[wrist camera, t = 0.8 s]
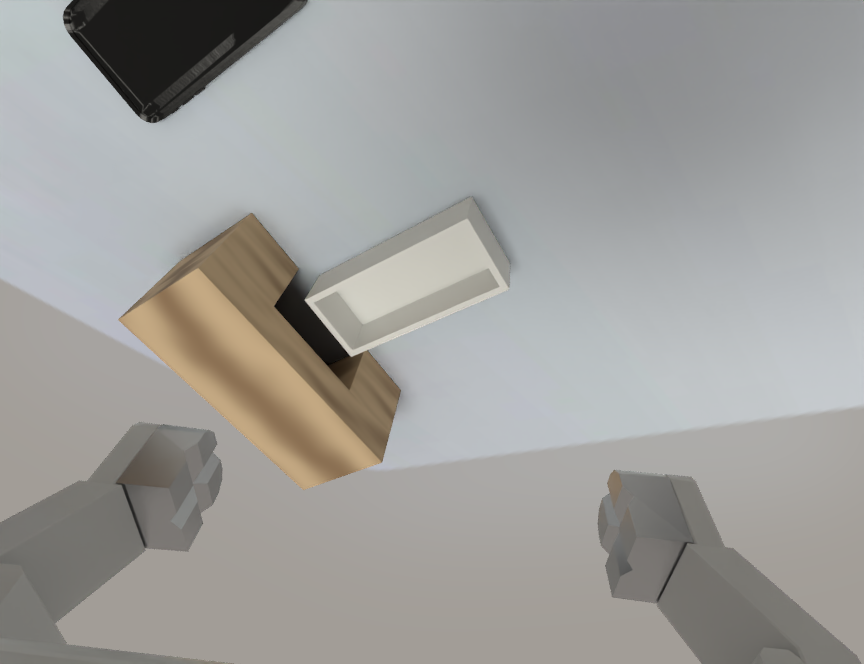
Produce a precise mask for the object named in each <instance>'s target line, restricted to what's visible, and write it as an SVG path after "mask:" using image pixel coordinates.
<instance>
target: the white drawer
mask: <svg viewBox="0 0 864 664" xmlns="http://www.w3.org/2000/svg"><path fill="white" fill-rule="evenodd" d="M509 285H510V262H509V261H508V259H507V257H506V255H505V254H504V252H503V250H502V248H501V247H500V245H499V243H498V241H497V240H496V238H495V236H494V234H493V233H492V231H491V229H490V227H489V226H488V224H487V222H486V220H485V219H484V217H483V215H482V213H481V212H480V210H479V208H478V206H477V205H476V203H475V201H474V199H473V198H472V196H471V197H469V198H467V199H466V200H464V201H462V202H460V203H458V204H456V205H454V206H452V207H450V208H448V209H446V210H444V211H442V212H440V213H439V214H437V215H435V216H433V217H431V218H429V219H427V220H425V221H423V222H421V223H419V224H417V225H415V226H414V227H412V228H410V229H408V230H406V231H404V232H402V233H400V234H398V235H396V236H394V237H392V238H390V239H389V240H387V241H385V242H383V243H381V244H379V245H377V246H375V247H373V248H371V249H369V250H367V251H365V252H364V253H362V254H360V255H358V256H356V257H354V258H352V259H350V260H348V261H346V262H344V263H342V264H340V265H339V266H337V267H335V268H333V269H331V270H329V271H327V272H325V273H323V274H321V275H319V277H318V279H317V280H316V282H315V284H314V285H313V287H312V289H311V290H310V292H309V294H308V295H307V297H306V299H305V301H306V303H307V304H308V305H309V306H310V307H311V309H312V310H313V311H314V312H315V314H316V315H317V316H318V317H319V318H320V320H321V321H322V322H323V323H324V325H325V326H326V327H327V328H328V329H329V331H330V332H331V333H332V334H333V335H334V337H335V338H336V339H337V340H338V342H339V343H340V344H341V345H342V346H343V348H344V349H345V350H346V351H347V353H348V354H349V355H350V356H351V357H352V356H355V355H357V354H359V353H362V352H364V351H366V350H369V349H371V348H373V347H376V346H378V345H380V344H383V343H385V342H387V341H390V340H392V339H394V338H397V337H399V336H401V335H404V334H406V333H409V332H411V331H413V330H416V329H418V328H420V327H423V326H425V325H427V324H430V323H432V322H434V321H437V320H439V319H441V318H444V317H446V316H448V315H451V314H453V313H455V312H458V311H460V310H462V309H465V308H467V307H469V306H472V305H474V304H476V303H479V302H481V301H483V300H486V299H488V298H490V297H493V296H495V295H497V294H500V293H502V292H505V291H507V290H509Z"/></svg>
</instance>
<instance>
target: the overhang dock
mask: <svg viewBox="0 0 864 664" xmlns="http://www.w3.org/2000/svg"><path fill="white" fill-rule="evenodd" d="M297 271H298V268H297V266H296V265H295V264H294V263H293V262H292V260H291V259H290V258H289V257H288V256H287V254H286V253H285V252H284V251H283V250H282V249H281V247H280V246H279V245H278V244H277V243H276V241H275V240H274V239H273V238H272V237H271V235H270V234H269V233H268V232H267V231H266V229H265V228H264V227H263V226H262V225H261V224H260V222H259V221H258V220H257V219H256V218H255V216H254V215H253V214H252V213H251V214H250V215H248V216H247V217H245V218H244V219H242V220H241V221H239V222H238V223H236V224H235V225H233V226H232V227H230V228H229V229H227V230H226V231H224V232H223V233H221V234H220V235H218V236H217V237H215V238H214V239H212V240H211V241H209V242H208V243H206V244H205V245H203V246H202V247H200V248H199V249H197V250H196V251H194V252H193V253H191V254H190V255H188V256H187V257H185V258H184V259H182V260H181V261H180V262H179V263H177V264H176V265H175V266H174V267H173V268H172V269H171V270H170V271H169V272H168V273H167V274H166V275H165V276H164V277H163V278H162V279H161V280H160V281H158V282H157V283H156V284H155V285H154V286H153V287H152V288H151V289H150V290H149V291H148V292H147V293H146V294H145V295H144V296H143V297H142V298H140V299H139V300H138V301H137V302H136V303H135V304H134V305H133V306H132V307H131V308H130V309H129V310H128V311H127V312H126V313H125V314H124V315H123V316H121V317H120V318H119V319H118V320H119V321H120V322H121V323H122V324H123V325H124V326H125V327H126V328H128V329H129V330H130V331H131V332H132V333H133V334H134V335H135V336H136V337H137V338H138V339H140V340H141V341H142V342H143V343H144V344H145V345H146V346H147V347H148V348H149V349H150V350H152V351H153V352H154V353H155V354H156V355H157V356H158V357H159V358H160V359H161V360H162V361H163V362H165V363H166V364H167V365H168V366H169V367H170V368H171V369H172V370H173V371H174V372H175V373H177V374H178V375H179V376H180V377H181V378H182V379H183V380H184V381H185V382H186V383H187V384H189V385H190V386H191V387H192V388H193V389H194V390H195V391H196V392H197V393H198V394H199V395H200V396H202V397H203V398H204V399H205V400H206V401H207V402H208V403H209V404H210V405H212V407H214V408H215V409H216V410H217V411H218V412H219V413H220V414H221V415H222V416H223V417H225V418H226V419H227V420H228V421H229V422H230V423H231V424H232V425H233V426H234V427H235V428H236V429H238V430H239V431H240V432H241V433H242V434H243V435H244V436H245V437H246V438H247V439H248V440H249V441H251V442H252V443H253V444H254V445H255V446H256V447H257V448H258V449H259V450H260V451H261V452H263V453H264V454H265V455H266V456H267V457H268V458H269V459H270V460H271V461H272V462H273V463H275V464H276V465H277V466H278V467H279V468H280V469H281V470H282V471H283V472H284V473H286V475H288V476H289V477H290V478H291V479H292V480H293V481H294V482H295V483H296V484H297V485H299V486H300V487H301V488H302V489H303V490H305V489H308V488H310V487H313V486H316V485H319V484H322V483H325V482H328V481H330V480H333V479H336V478H339V477H342V476H345V475H348V474H350V473H353V472H356V471H359V470H362V469H365V468H368V467H371V466H373V465H376V464H379V463H382V461H383V457H384V453H385V449H386V446H387V442H388V438H389V434H390V430H391V426H392V423H393V419H394V415H395V411H396V407H397V404H398V400H399V396H400V392H401V390H400V389H399V388H398V387H397V385H396V384H395V383H394V382H393V381H392V379H391V378H390V377H389V376H388V375H387V373H386V372H385V371H384V370H383V369H382V368H381V366H380V365H379V364H378V363H377V362H376V360H375V359H374V358H373V357H372V356H371V354H370V353H369V352H368V351H367V350H366V351H364V352H362V353H359V354H357V355H355V356H352V357H351V356H348V357H346V358H344V359H341V360H339V361H337V362H335V363H333V364H331V365H329V366H327V365H326V364H325V363H324V362H323V361H322V359H321V358H320V357H319V356H318V355H317V354H316V353H315V352H314V351H313V349H312V348H311V347H310V346H309V345H308V344H307V343H306V342H305V341H304V339H303V338H302V337H301V336H300V335H299V334H298V333H297V332H296V331H295V329H294V328H293V327H292V326H291V325H290V324H289V323H288V322H287V321H286V319H285V318H284V317H283V316H282V315H281V314H280V313H279V312H278V311H277V310H276V308H275V307H274V305H275V304H276V302H277V301H278V299H279V298H280V296H281V295H282V293H283V292H284V290H285V289H286V287H287V286H288V284H289V283H290V281H291V280H292V278H293V277H294V275H295V274H296V272H297Z"/></svg>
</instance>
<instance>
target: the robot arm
mask: <svg viewBox="0 0 864 664" xmlns="http://www.w3.org/2000/svg"><path fill="white" fill-rule="evenodd" d="M216 445H217V441H216V438H215V434H214V432H212V431H210V430H204V429H196V428H187V427H180V426H172V425H164V424H163V425H160V424H152V423H143V422H139V423H137V424H135V425H133V426H132V427H131V428H130V429H129V430H128V431H127V433H126V434H125V435H124V436H123V437H122V439H121V440H120V441H119V443H118V444H117V445H116V446H115V447H114V449H113V450H112V451H111V452H110V453H109V455H108V456H107V457H106V458H105V460H104V461H103V462H102V463H101V464H100V466H99V467H98V468H97V470H96V471H95V472H94V473H93V474H92V476H91V477H90V478H89V479H88V480H87V481H78V482H76V483H74V484H72V485H70V486H68V487H66V488H64V489H63V490H61V491H59V492H57V493H55V494H53V495H51V496H49V497H47V498H46V499H44V500H42V501H40V502H38V503H36V504H34V505H33V506H30V507H29V508H27V509H25V510H23V511H21V512H19V513H17V514H15V515H13V516H11V517H10V518H8V519H6V520H4V521H2V522H0V664H232V663H224V662H215V661H205V660H198V659H189V658H180V657H172V656H163V655H154V654H145V653H136V652H127V651H119V650H110V649H102V648H101V649H100V648H93V647H85V646H76V645H67V644H66V641H65V640H64V638H63V636H62V634H61V633H60V631H59V629H58V627H57V626H56V624H55V623H56V622H57V621H59V620H60V619H61V618H62V617H64V616H65V615H66V614H67V613H69V612H70V611H71V610H72V609H74V608H75V607H76V606H77V605H78V604H80V603H81V602H82V601H83V600H85V599H86V598H87V597H88V596H90V595H91V594H92V593H93V592H94V591H96V590H97V589H98V588H100V587H101V586H102V585H103V584H105V583H106V582H107V581H108V580H110V579H111V578H112V577H113V576H115V575H116V574H117V573H118V572H120V571H121V570H122V569H123V568H124V567H126V566H127V565H128V564H129V563H131V562H132V561H133V560H134V559H136V558H137V557H138V556H139V555H141V554H142V553H143V552H144V551H145V548H149V549H162V550H175V551H188V550H189V549H190V547H191V545H192V543H193V541H194V539H195V537H196V535H197V534H198V532H199V530H200V528H201V526H202V524H203V521H202V517H201V512H203V511H204V510H206V509H207V508H209V507H210V506H212V505H213V503H214V501H215V499H216V497H217V495H218V493H219V489H220V485H221V482H222V464H221V460H220V459H219V458H218V457H217V456H216V455H215V454H214V453H213V450H214V449H215V447H216ZM607 484H608V488H609V492H610V493H609V494H608V495H606V496H605V497H603V498H602V501H601V504H600V508H599V515H598V531H599V538H600V543H601V546H602V547H603V548H604V549H605V550H606V551H607V552H608V553H609V557H608V560H607V562H606V565H605V567H606V571H607V575H608V580H609V585H610V589H611V593H612V597H614V598H622V599H629V600H636V601H645V602H651V603H658V604H657V607H658V608H659V609H660V610H661V612H662V613H663V614H664V615H665V617H666V618H667V619H668V621H669V622H670V623H671V625H672V626H673V627H674V628H675V630H676V631H677V632H678V634H679V635H680V636H681V637H682V639H683V640H684V641H685V643H686V644H687V645H688V646H689V648H690V649H691V650H692V652H693V653H694V654H695V655H696V657H697V658H698V659H699V661H700V662H701V663H702V664H861V662H860V660H859V659H858V657H857V655H855V654H854V653H853V652H852V651H851V650H850V649H848V648H847V647H846V646H845V645H844V644H843V643H842V642H840V641H839V640H838V639H837V638H836V637H835V636H834V635H832V634H831V633H830V632H829V631H828V630H826V628H824V627H823V626H822V625H821V624H820V623H819V622H817V621H816V620H815V619H814V618H813V617H811V615H809V614H808V613H807V612H806V611H805V610H804V609H802V608H801V607H800V606H799V605H798V604H797V603H796V602H794V601H793V600H792V599H791V598H790V597H789V596H788V595H786V594H785V593H784V592H783V591H782V590H781V589H779V588H778V587H777V586H776V585H775V584H774V583H773V582H771V581H770V580H769V579H768V578H767V577H766V576H765V575H763V574H762V573H761V572H760V571H759V570H757V569H756V568H755V567H754V566H753V565H752V564H751V563H750V562H748V561H747V560H746V559H745V558H744V557H743V556H741V555H740V554H739V553H738V552H737V551H736V550H735V549H733V548H727V547H725V546H724V544H723V542H722V539H721V537H720V535H719V532H718V530H717V528H716V526H715V523H714V521H713V519H712V517H711V514H710V512H709V510H708V508H707V506H706V503H705V501H704V499H703V497H702V494H701V492H700V490H699V488H698V485H697V483H696V481H695V480H694V479H693V478H692V477H688V476H678V475H663V474H654V473H643V472H632V471H621V470H614V471H613V472H612V473H611V474H610V477H609V480H608V483H607Z"/></svg>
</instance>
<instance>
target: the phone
mask: <svg viewBox="0 0 864 664" xmlns="http://www.w3.org/2000/svg"><path fill="white" fill-rule="evenodd" d="M306 2H307V0H73V1H72V2H71V3H70V4H69V5H68V6H67V7H66V9H65V11H64V14H63V20H64V25H65V27H66V30H67V31H68V33H69V34H70V36H71V37H72V38H73V40H74V41H75V42H76V43H77V44H78V45H79V47H80V48H81V49H82V50H83V51H84V53H85V54H86V55H87V56H88V57H89V59H90V60H91V61H92V62H93V63H94V64H95V66H96V67H97V68H98V69H99V70H100V72H101V73H102V74H103V75H104V76H105V78H106V79H107V80H108V81H109V82H110V83H111V85H112V86H113V87H114V88H115V89H116V91H117V92H118V93H119V94H120V95H121V97H122V98H123V99H124V100H125V101H126V102H127V104H128V105H129V106H130V107H131V108H132V110H133V111H134V112H135V113H136V114H137V115H138V116H139V117H140V118H141V119H143V120H144V121H146V122H150V123H156V122H158V121H160V120H162V119H164V118H166V117H167V116H169V115H170V114H171V113H174V112H175V111H176V110H178V107H180V106H181V105H184V104H186V103H187V102H188V101H189V100H191V99H192V98H193V95H195V96H196V95H197V94H199V93H200V92H201V91H202V90H204V89H205V88H204V87H205V86H206V85H207V84H208V83H210V82H211V81H212V80H213V79H215V78H216V77H217V76H218V75H220V74H221V73H222V72H223V71H225V70H226V69H227V68H228V67H229V66H231V65H232V64H233V63H234V62H236V61H237V60H238V59H239V58H241V57H242V56H243V55H244V54H246V53H247V52H248V51H249V50H251V49H252V48H253V47H254V46H256V45H257V44H258V43H259V42H261V41H262V40H263V39H264V38H266V37H267V36H268V35H269V34H271V33H272V32H273V31H274V30H276V29H277V28H278V27H279V26H280V25H282V24H283V23H284V22H285V21H287V20H288V19H289V18H290V17H292V16H293V15H294V14H295V13H297V12H298V11H299V10H300V9H302V8H303V6H304V5H305V4H306Z"/></svg>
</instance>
